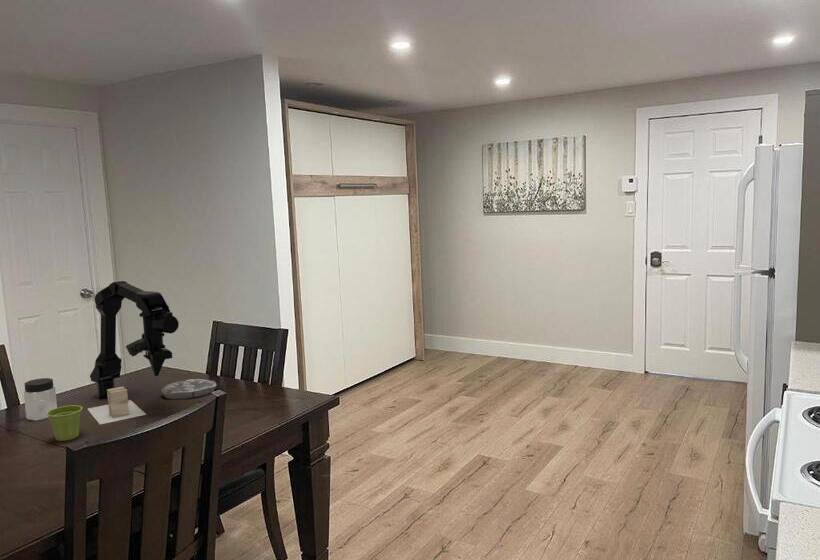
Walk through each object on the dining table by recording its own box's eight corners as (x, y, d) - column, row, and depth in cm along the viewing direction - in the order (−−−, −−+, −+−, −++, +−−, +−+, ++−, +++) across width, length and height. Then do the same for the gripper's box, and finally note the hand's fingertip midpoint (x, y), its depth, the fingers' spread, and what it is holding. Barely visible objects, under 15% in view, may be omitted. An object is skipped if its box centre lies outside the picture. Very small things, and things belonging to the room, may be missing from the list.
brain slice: (209, 383, 238) (209, 376, 238) (220, 394, 224) (220, 386, 223) (156, 392, 228) (155, 384, 228) (164, 404, 214) (163, 396, 213)
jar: (26, 422, 197) (23, 386, 196) (26, 415, 204) (22, 381, 203) (58, 417, 202) (55, 381, 201) (56, 410, 209) (53, 376, 207)
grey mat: (87, 409, 209) (87, 408, 209) (130, 401, 217) (130, 400, 217) (100, 425, 193) (99, 424, 193) (146, 415, 202) (146, 414, 202)
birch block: (109, 414, 202) (107, 389, 201) (125, 410, 206) (123, 386, 204) (112, 418, 199) (110, 393, 198) (129, 414, 202) (127, 389, 201)
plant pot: (60, 446, 177) (57, 417, 176) (42, 440, 182) (40, 412, 181) (91, 435, 185) (88, 408, 184) (74, 430, 190) (71, 403, 188)
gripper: (120, 329, 206) (123, 374, 208) (134, 338, 191) (138, 386, 193) (154, 325, 213) (157, 368, 215) (171, 333, 198) (174, 379, 200)
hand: (156, 375), depth 206 cm, fingers closed
